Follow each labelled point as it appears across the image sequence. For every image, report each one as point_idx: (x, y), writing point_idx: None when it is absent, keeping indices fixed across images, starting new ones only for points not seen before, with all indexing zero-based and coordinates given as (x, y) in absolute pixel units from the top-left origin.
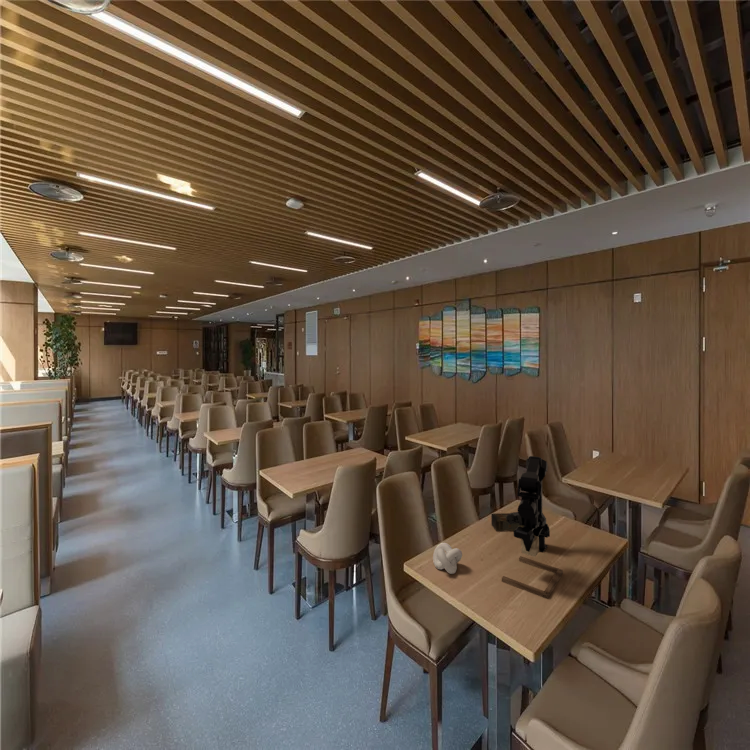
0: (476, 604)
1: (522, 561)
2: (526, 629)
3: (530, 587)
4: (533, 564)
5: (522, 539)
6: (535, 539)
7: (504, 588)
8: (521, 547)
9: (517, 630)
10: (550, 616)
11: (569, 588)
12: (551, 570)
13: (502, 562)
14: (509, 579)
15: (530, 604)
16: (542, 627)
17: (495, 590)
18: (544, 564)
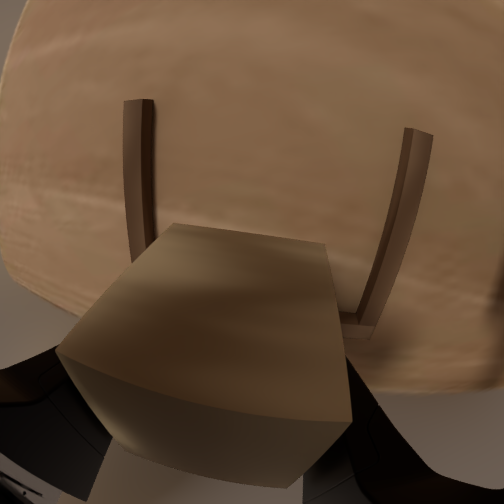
0: (8, 116)
1: (403, 147)
2: (22, 256)
3: (134, 243)
4: (391, 211)
5: (15, 366)
6: (181, 469)
7: (98, 136)
8: (143, 254)
9: (11, 240)
10: (85, 302)
11: None
12: (365, 295)
13: (334, 39)
14: (130, 139)
15: (84, 248)
16: (47, 286)
17: (72, 115)
18: (393, 271)
